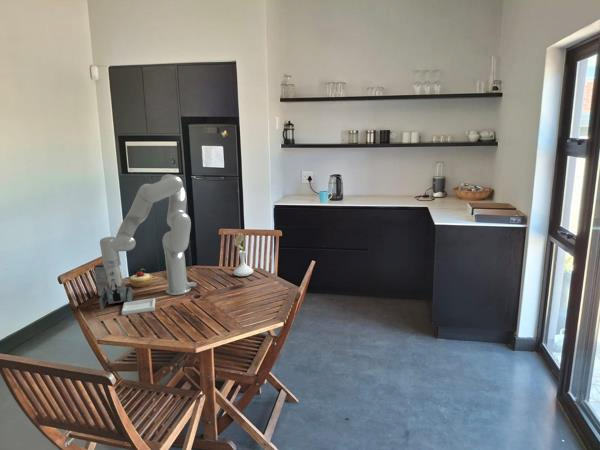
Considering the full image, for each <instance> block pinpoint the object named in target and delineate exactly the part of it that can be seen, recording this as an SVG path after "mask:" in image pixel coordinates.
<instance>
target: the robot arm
mask: <svg viewBox="0 0 600 450" xmlns="http://www.w3.org/2000/svg"><path fill="white" fill-rule="evenodd" d="M167 198H168V209H167V215H166V216H167V217H166V224H167V226H169V228H170V231H167V232H166V233H164V235H163V237H162V241H161V242H162V248H163V251H164V258H165V260H164V261H165V267H166V268H165V270H166V277H167V278H166V279H167V286H168V287H167V288H166V289H165V293H166V295H168V296H179V295H184V294H187V293H189V292H191V289H192V288H191V287H197V282H194V281H189V280H188V278H187V269H186V268H187V267H186V257H185V251H186V250H187V249H188V246H189V243H190V234H191V229H192V222H191V221H192V220H191V218H190V215H188V213H187V203H188V201H187V192H186V189H185V187H184V182H183V180H182V179H181V178H180V176H178V175H175V174H171V173H170V174H169V173H167V174H164V175H163V176H161V178H160V180H159V181H157V182H154V183H144V184H142V185H141V186H140V187H139V188H138V191H137V193H136V196H135V197H134V200H133V203H132V204H131V207H130V208H129V211H128V213H127V214H126V215H125V218H124V219H123V221H122V222H121V223H120V226H119V229H118V231H117V233H116V236H106V237H105V236H104V237H103V238H101V239H100V240H99V247H100V252H101V259H102V262H103V265H104V268H107V275H108V281H109V286H110V288H112V295H113V301H114V302H116V301H121V298H120V293H119V289H118V287H122V284H123V277H122V272H121V267H120V266H121V264H122V263H121V256H120V252H130V251H132V250H133V249H135V247H136V244H137V243H136V239H135V238H134V235H135V232H136V231H137V228H139V226H140V224H141V223H143V222H144V221H146V219H147V218H148V216H149V214H150V211H151V209H152V207H153V205H154V203H157V202H160V201H162V200H164V199H167ZM116 288H117V289H116Z"/></svg>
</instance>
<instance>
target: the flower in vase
mask: <svg viewBox="0 0 600 450" xmlns="http://www.w3.org/2000/svg"><path fill="white" fill-rule="evenodd" d="M244 238H245V237H244V234H243V232H239V233H238V234H237V235H235V238H234V241H233V242H234V246H235V247H238V248H239V249H240V250H238V251H237V254H238V255H239V258H240V263H239V265H238V266H237V267H236V268H235V269H234V270H233V272H232V273H233V275H234V276H237V277H247V276H251V275H252V274H253V273H254V269H253V268H252V267H250V266H249V265H247V264H246V261H245V258H246V252H247V250H246V247H245V246H244V244H243V243H244V242H243V241H244Z"/></svg>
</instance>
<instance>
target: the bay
mask: <svg viewBox="0 0 600 450" xmlns="http://www.w3.org/2000/svg"><path fill="white" fill-rule="evenodd" d="M126 291H127V301H126V302H130V301H133V297H134V293H133V286H132V287H131V286H130V287H129V286H128V287H127V286H126ZM98 301H99V308H100V309H99V310H101V309H103V310H104V308H105V307H106V303H107V301H108V296H107V290H106V291H103V292H102V294H101V296H99V299H98Z"/></svg>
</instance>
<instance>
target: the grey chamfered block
mask: <svg viewBox="0 0 600 450" xmlns="http://www.w3.org/2000/svg"><path fill="white" fill-rule="evenodd" d="M126 288H127V286H126V285H123V286H122V285H121V287H118V289H119V293H120V298H121V301H116V302H114V301H113V295H112V288H109V289H108V290H107V296H108V300H107V301H108V305H109V304H116V303H122V302H123V303H124V302H128V301H127V291H126ZM116 289H117V288H116Z"/></svg>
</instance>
